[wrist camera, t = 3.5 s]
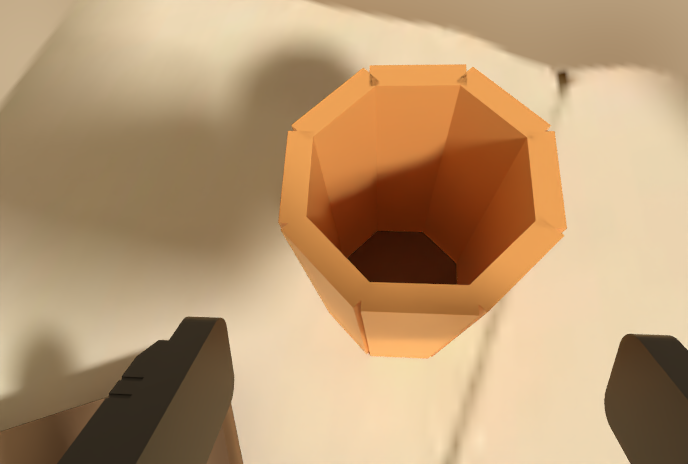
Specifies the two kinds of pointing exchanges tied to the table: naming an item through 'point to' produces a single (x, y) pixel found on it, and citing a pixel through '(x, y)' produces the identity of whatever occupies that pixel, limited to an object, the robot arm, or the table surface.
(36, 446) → the spindle
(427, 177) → the collar
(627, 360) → the robot arm
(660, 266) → the table surface
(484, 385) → the table surface
